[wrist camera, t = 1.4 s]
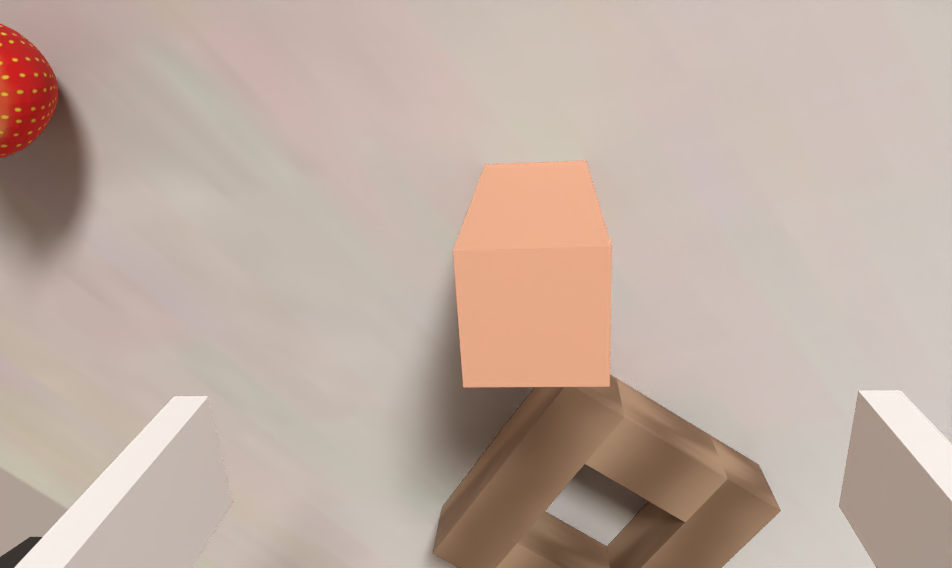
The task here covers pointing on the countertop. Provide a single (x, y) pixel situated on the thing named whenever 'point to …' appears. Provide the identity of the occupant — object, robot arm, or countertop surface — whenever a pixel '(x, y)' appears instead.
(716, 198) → the countertop surface
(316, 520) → the countertop surface
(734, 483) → the socket
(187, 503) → the robot arm
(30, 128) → the fruit
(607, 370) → the peg
